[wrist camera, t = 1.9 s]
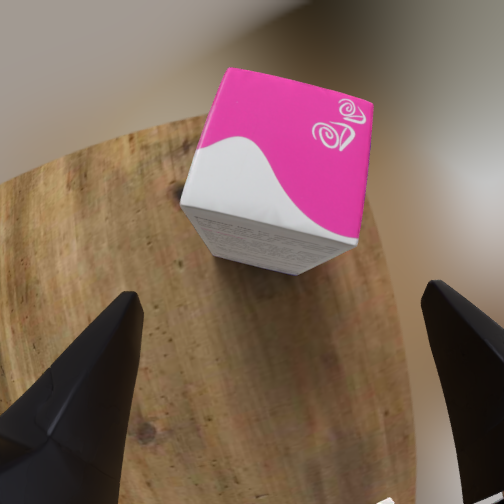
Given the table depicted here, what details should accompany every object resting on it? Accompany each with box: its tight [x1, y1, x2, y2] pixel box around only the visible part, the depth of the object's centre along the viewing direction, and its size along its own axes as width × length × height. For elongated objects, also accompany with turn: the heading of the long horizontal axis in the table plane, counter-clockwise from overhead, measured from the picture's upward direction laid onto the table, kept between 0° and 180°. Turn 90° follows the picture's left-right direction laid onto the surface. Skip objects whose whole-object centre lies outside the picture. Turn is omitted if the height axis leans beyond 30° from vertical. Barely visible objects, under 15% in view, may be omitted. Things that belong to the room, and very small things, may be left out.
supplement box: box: [180, 67, 374, 276], centre depth 15 cm, size 6×6×12 cm
